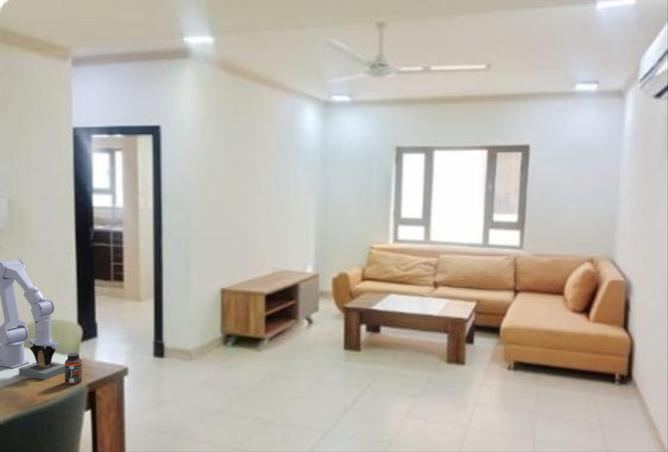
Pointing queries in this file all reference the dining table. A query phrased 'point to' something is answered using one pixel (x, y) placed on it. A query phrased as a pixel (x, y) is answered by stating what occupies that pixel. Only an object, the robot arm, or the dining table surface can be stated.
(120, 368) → the dining table surface
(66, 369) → the supplement bottle
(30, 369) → the board
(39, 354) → the peg
